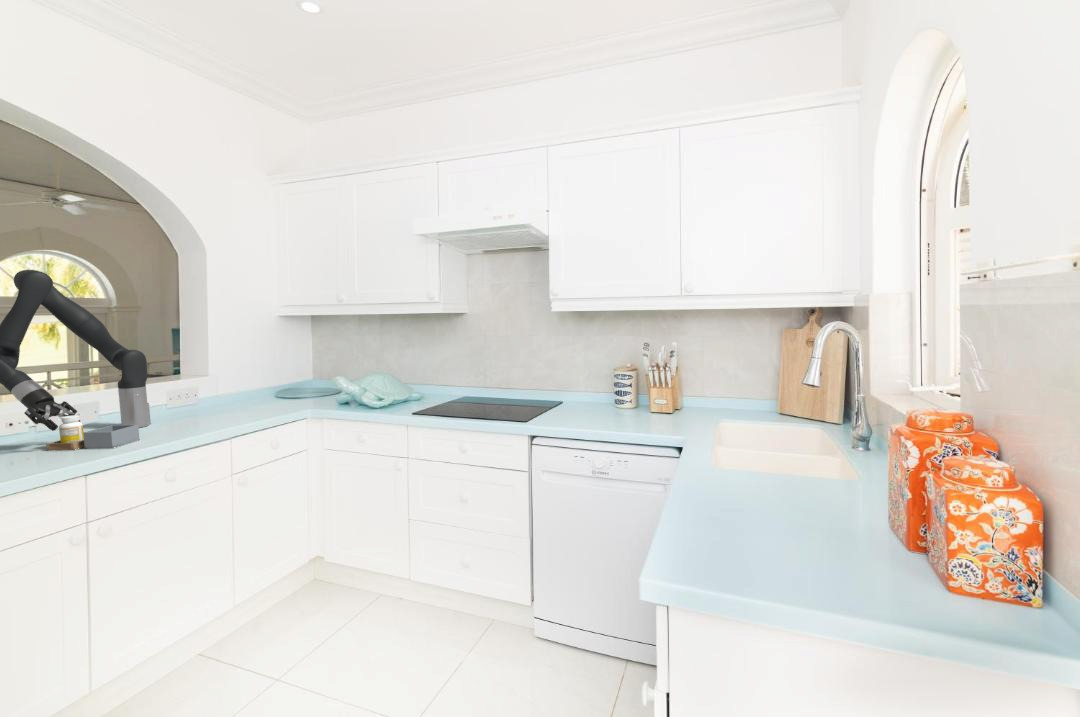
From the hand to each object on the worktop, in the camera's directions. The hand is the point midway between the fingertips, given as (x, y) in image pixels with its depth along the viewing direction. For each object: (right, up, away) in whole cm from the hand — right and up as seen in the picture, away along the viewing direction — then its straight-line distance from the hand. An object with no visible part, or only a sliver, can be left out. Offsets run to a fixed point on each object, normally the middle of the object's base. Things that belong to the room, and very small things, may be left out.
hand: (67, 426), depth 180 cm
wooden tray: (+1, -8, +1) cm, 8 cm away
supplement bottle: (+1, -8, +1) cm, 8 cm away
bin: (+13, -7, +4) cm, 16 cm away
